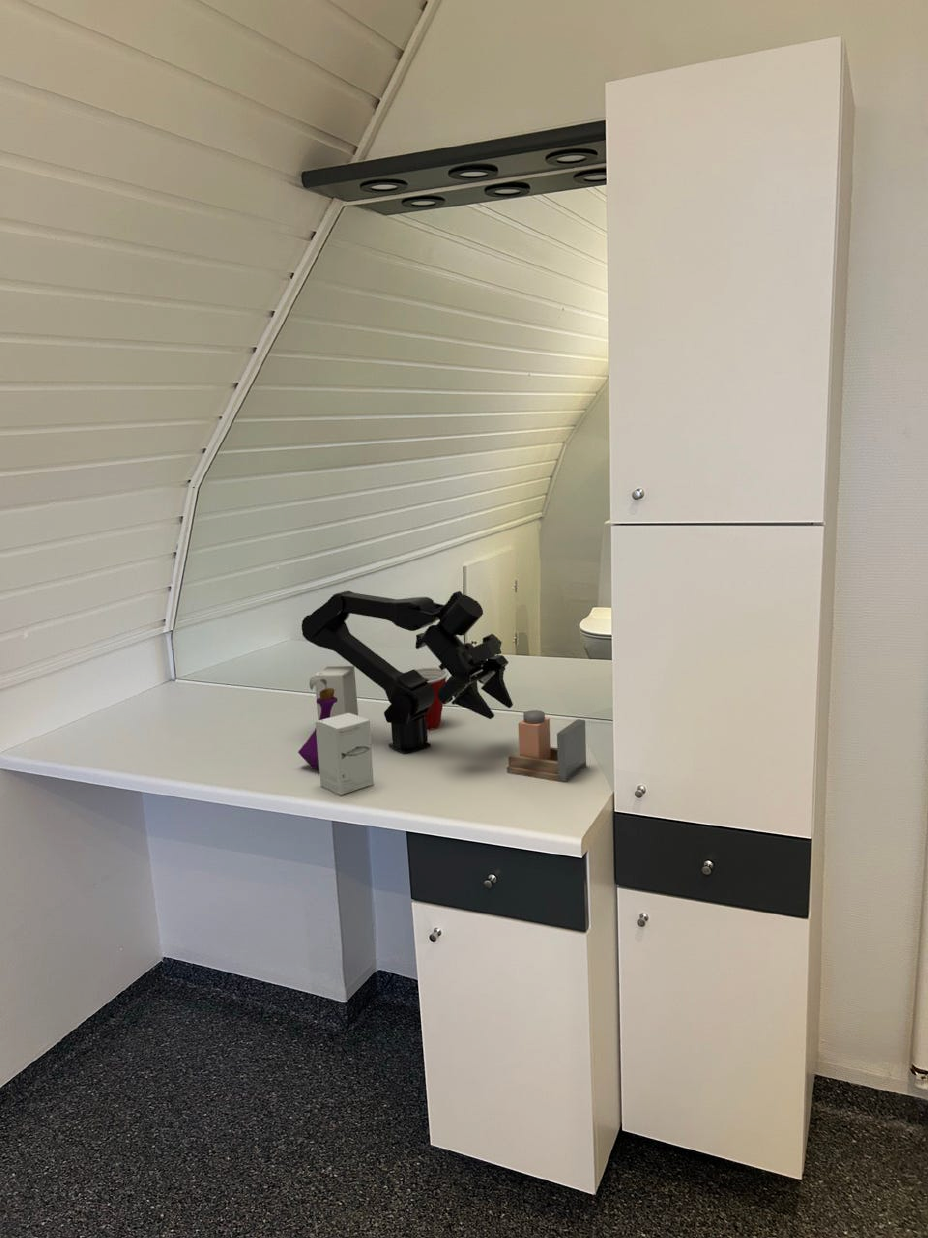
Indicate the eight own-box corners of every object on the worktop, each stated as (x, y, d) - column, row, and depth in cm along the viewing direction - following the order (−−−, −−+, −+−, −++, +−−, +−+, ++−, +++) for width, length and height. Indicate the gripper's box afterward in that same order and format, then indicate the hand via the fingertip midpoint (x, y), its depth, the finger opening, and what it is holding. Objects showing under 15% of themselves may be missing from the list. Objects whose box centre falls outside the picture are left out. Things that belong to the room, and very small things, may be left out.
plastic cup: (391, 727, 205) (387, 674, 202) (429, 715, 212) (426, 664, 209) (422, 737, 197) (419, 682, 194) (461, 725, 204) (458, 672, 201)
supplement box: (340, 796, 167) (335, 728, 164) (319, 786, 172) (314, 720, 170) (375, 785, 171) (370, 719, 169) (353, 775, 177) (348, 711, 174)
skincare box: (348, 749, 192) (343, 675, 189) (318, 748, 193) (312, 675, 190) (361, 735, 200) (356, 664, 197) (331, 735, 201) (326, 664, 198)
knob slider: (519, 764, 175) (518, 716, 173) (532, 755, 179) (530, 708, 178) (539, 767, 173) (537, 718, 171) (550, 758, 177) (549, 711, 175)
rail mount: (507, 772, 175) (505, 726, 173) (529, 757, 182) (527, 712, 180) (565, 782, 168) (564, 734, 167) (586, 766, 176) (585, 720, 174)
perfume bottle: (327, 756, 188) (320, 669, 184) (353, 763, 183) (347, 674, 179) (298, 768, 182) (291, 678, 179) (324, 775, 177) (317, 683, 174)
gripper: (448, 634, 170) (504, 699, 166) (498, 614, 185) (550, 674, 182) (414, 672, 175) (467, 736, 172) (465, 650, 191) (515, 708, 187)
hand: (502, 712), depth 178 cm, fingers open, 7 cm apart
